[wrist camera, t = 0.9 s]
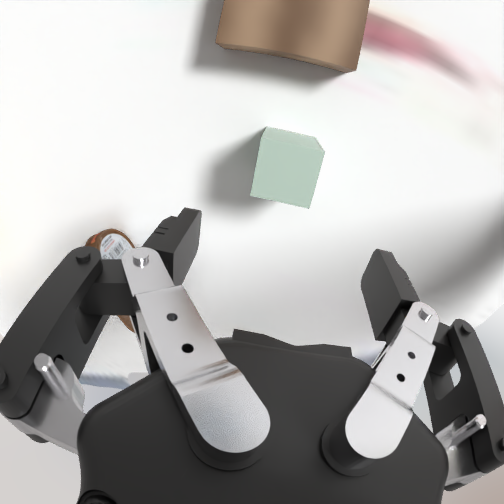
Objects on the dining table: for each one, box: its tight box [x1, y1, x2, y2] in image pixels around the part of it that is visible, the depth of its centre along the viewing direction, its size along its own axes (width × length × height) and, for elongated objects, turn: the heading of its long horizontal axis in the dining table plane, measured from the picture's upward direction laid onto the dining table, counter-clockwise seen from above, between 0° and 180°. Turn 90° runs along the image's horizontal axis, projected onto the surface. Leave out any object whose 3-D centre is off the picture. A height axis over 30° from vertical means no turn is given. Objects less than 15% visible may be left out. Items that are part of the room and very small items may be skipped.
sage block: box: [250, 127, 325, 209], centre depth 25 cm, size 5×5×7 cm
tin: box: [85, 229, 135, 333], centre depth 34 cm, size 15×3×8 cm, turn 24°
